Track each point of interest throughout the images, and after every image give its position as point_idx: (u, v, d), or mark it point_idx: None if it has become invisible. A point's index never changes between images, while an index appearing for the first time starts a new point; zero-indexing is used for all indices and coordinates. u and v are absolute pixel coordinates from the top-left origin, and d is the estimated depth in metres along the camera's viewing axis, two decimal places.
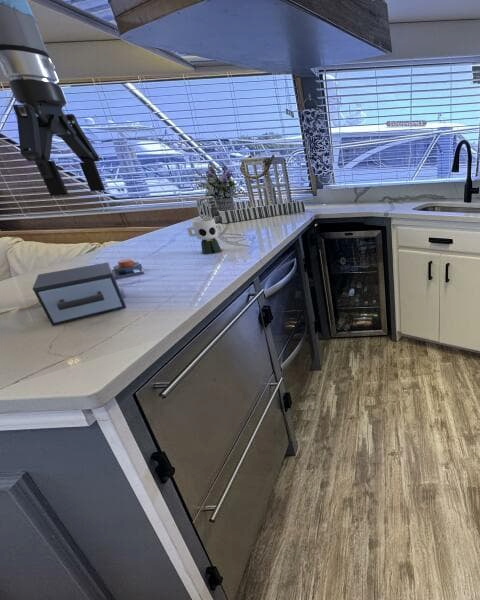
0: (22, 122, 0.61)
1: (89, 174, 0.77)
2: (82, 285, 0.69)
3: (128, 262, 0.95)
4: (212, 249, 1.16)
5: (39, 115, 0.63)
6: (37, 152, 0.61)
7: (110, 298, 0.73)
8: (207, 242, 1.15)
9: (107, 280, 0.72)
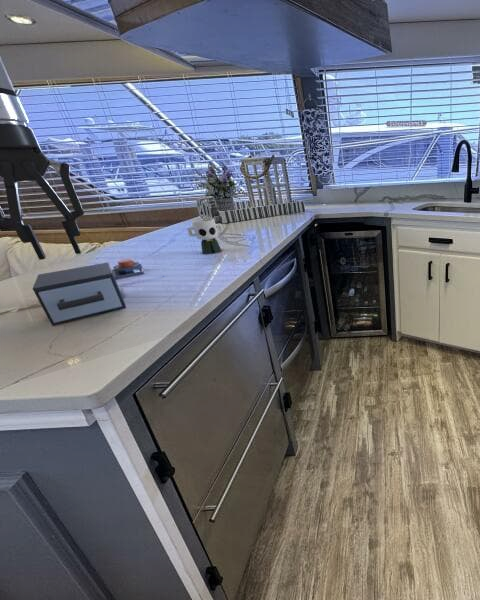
0: None
1: None
2: (82, 285, 0.69)
3: (128, 262, 0.95)
4: (212, 249, 1.16)
5: None
6: None
7: (110, 298, 0.73)
8: (207, 242, 1.15)
9: (107, 280, 0.72)
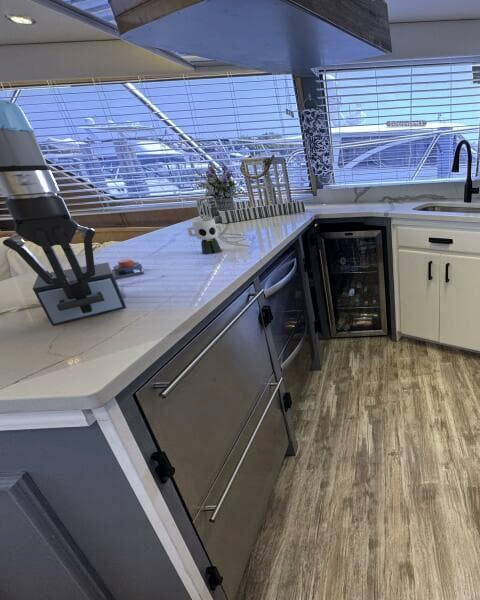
0: None
1: None
2: None
3: (128, 262, 0.95)
4: (212, 249, 1.16)
5: (18, 234, 0.59)
6: (47, 282, 0.63)
7: (110, 299, 0.73)
8: (207, 242, 1.15)
9: (107, 280, 0.71)
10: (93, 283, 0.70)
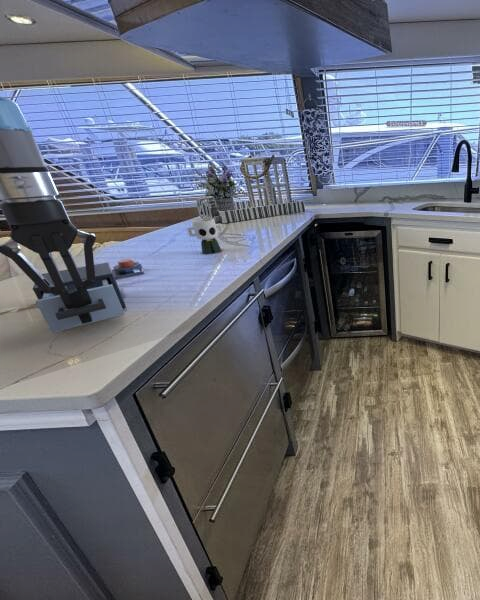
0: None
1: None
2: None
3: (128, 262, 0.95)
4: (212, 249, 1.16)
5: (14, 240, 0.55)
6: (45, 291, 0.59)
7: (112, 306, 0.69)
8: (207, 242, 1.15)
9: (109, 287, 0.67)
10: (94, 290, 0.66)
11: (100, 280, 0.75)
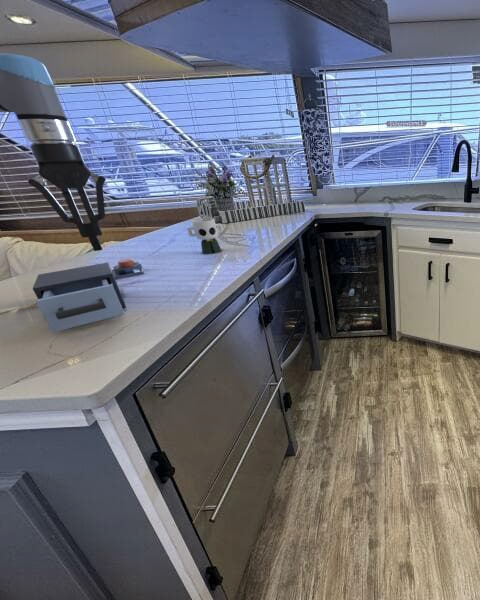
0: None
1: None
2: (82, 292, 0.65)
3: (128, 262, 0.95)
4: (212, 249, 1.16)
5: (41, 175, 0.69)
6: (64, 220, 0.73)
7: (112, 306, 0.69)
8: (207, 242, 1.15)
9: (109, 286, 0.68)
10: (94, 289, 0.66)
11: (100, 280, 0.75)
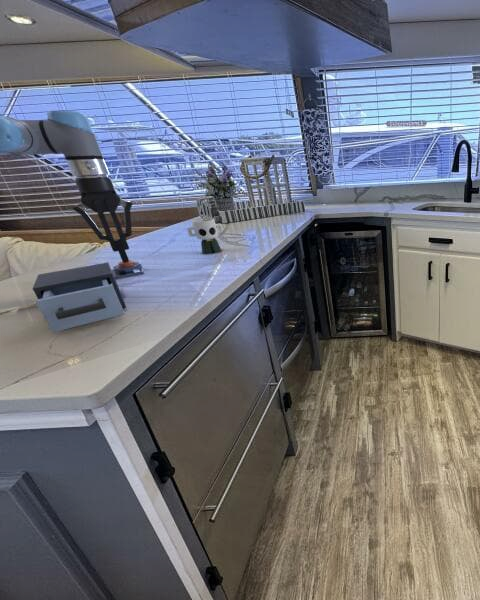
0: (84, 218, 0.88)
1: None
2: (82, 292, 0.65)
3: (128, 263, 0.95)
4: (212, 249, 1.16)
5: (82, 203, 0.86)
6: (100, 237, 0.90)
7: (112, 306, 0.69)
8: (207, 242, 1.15)
9: (109, 286, 0.68)
10: (94, 289, 0.66)
11: (100, 280, 0.75)
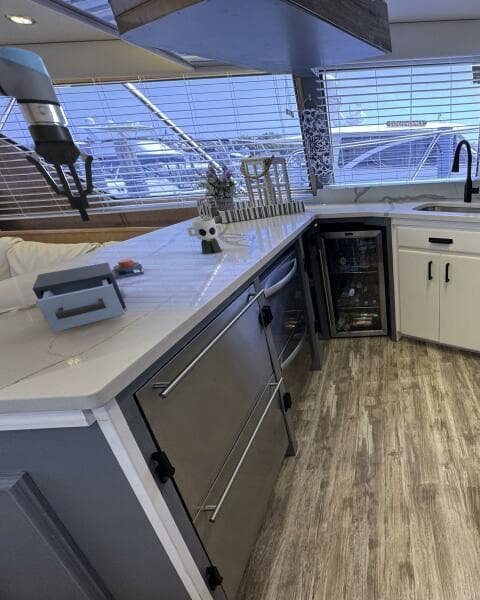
0: None
1: None
2: (82, 292, 0.65)
3: (128, 262, 0.95)
4: (212, 249, 1.16)
5: (36, 153, 0.80)
6: (57, 192, 0.84)
7: (112, 306, 0.69)
8: (207, 242, 1.15)
9: (109, 286, 0.68)
10: (94, 289, 0.66)
11: (100, 280, 0.75)
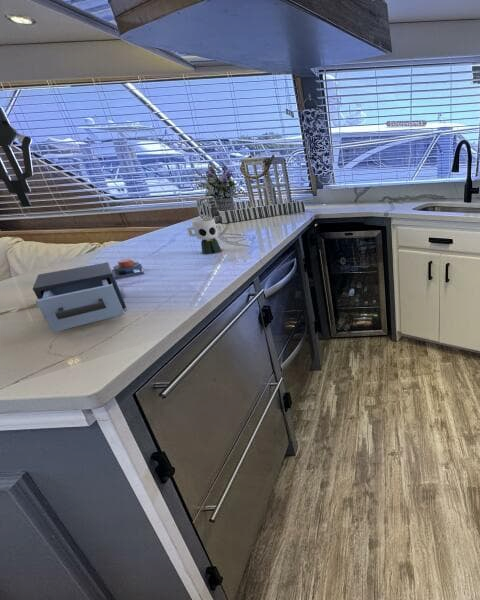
0: None
1: None
2: (82, 292, 0.65)
3: (128, 262, 0.95)
4: (212, 249, 1.16)
5: None
6: None
7: (112, 306, 0.69)
8: (207, 242, 1.15)
9: (109, 286, 0.68)
10: (94, 289, 0.66)
11: (100, 280, 0.75)
